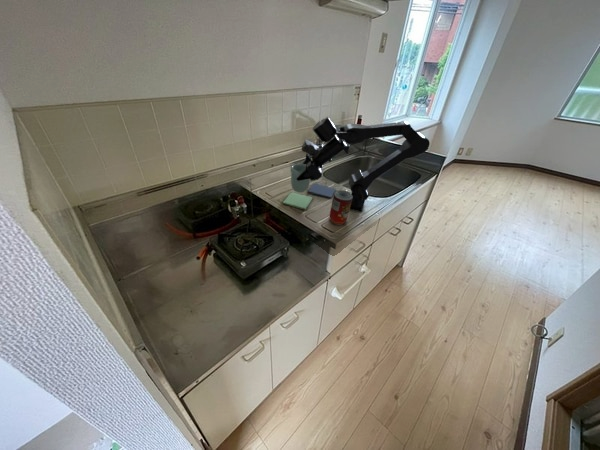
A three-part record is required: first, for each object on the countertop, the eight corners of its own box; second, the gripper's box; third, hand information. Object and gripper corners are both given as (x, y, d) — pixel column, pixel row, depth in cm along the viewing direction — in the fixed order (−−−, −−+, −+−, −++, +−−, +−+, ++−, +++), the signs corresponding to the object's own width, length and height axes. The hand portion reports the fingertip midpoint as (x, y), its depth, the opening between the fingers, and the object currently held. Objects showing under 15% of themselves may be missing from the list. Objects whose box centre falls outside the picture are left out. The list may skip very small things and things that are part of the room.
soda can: (340, 228, 91) (347, 200, 84) (325, 220, 94) (330, 192, 87) (349, 220, 95) (356, 193, 88) (334, 213, 99) (340, 186, 91)
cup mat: (312, 199, 106) (312, 197, 106) (305, 210, 99) (305, 208, 98) (291, 193, 108) (291, 191, 108) (282, 203, 101) (282, 202, 100)
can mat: (335, 190, 115) (335, 188, 115) (330, 198, 108) (331, 197, 108) (313, 184, 117) (313, 183, 117) (308, 192, 111) (308, 191, 110)
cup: (294, 195, 96) (296, 172, 90) (287, 186, 101) (288, 164, 95) (312, 193, 99) (314, 170, 93) (304, 184, 104) (306, 162, 98)
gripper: (315, 127, 94) (285, 151, 100) (316, 142, 79) (282, 170, 85) (331, 148, 99) (302, 171, 105) (336, 166, 84) (302, 191, 90)
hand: (297, 175), depth 96 cm, fingers closed on cup, 8 cm apart
